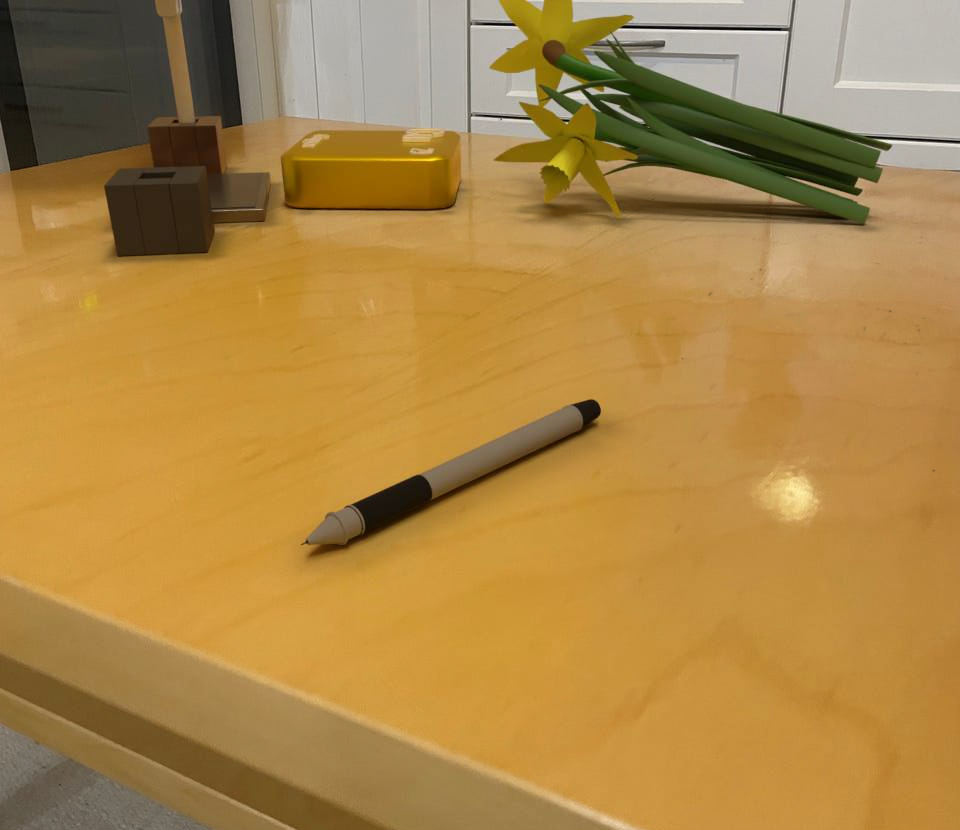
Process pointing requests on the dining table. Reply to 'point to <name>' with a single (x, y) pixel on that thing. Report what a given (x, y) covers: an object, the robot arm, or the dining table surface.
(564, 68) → the daffodil flowers
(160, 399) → the dining table surface
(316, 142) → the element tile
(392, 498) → the pen
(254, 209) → the tablet
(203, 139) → the stand
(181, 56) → the tan wooden bar
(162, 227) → the holder
